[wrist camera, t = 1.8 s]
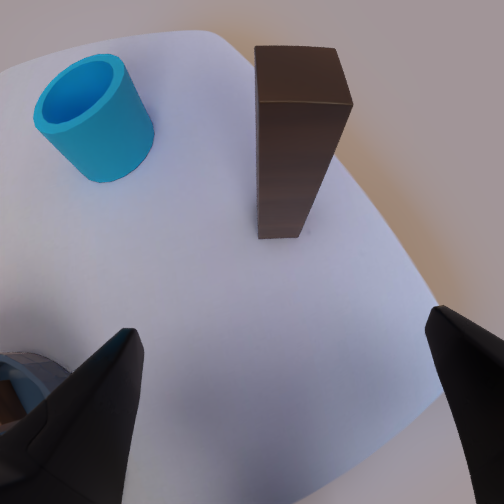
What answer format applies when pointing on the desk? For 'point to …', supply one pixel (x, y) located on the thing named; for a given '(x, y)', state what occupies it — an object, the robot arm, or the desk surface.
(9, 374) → the bowl
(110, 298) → the desk surface
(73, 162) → the mug
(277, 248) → the desk surface
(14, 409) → the walnut cube
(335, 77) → the stick
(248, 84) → the desk surface
